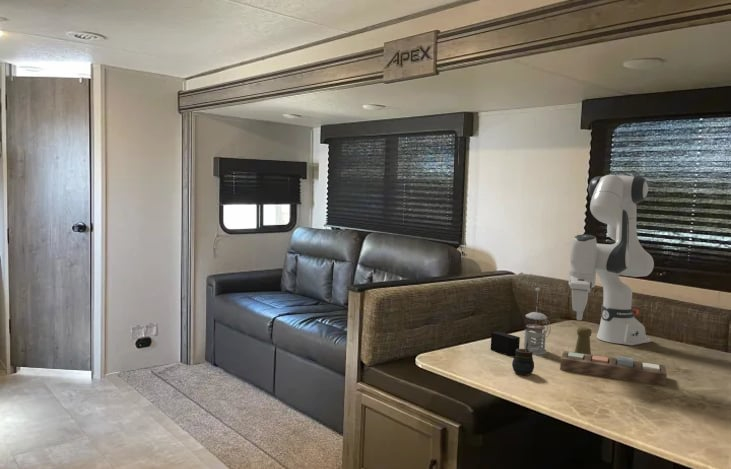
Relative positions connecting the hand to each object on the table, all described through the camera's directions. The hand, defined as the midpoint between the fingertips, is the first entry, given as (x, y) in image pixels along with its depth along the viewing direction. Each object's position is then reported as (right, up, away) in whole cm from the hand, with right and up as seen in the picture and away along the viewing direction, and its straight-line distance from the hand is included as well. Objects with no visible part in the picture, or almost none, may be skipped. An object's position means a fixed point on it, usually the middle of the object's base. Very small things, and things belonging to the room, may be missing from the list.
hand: (579, 319), depth 205 cm
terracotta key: (+6, -16, -3) cm, 17 cm away
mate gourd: (-22, -17, -8) cm, 29 cm away
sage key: (-1, -15, 0) cm, 15 cm away
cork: (+7, -17, +16) cm, 24 cm away
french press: (-10, -16, +20) cm, 27 cm away
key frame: (+9, -18, -5) cm, 21 cm away
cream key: (+20, -17, -10) cm, 28 cm away
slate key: (+13, -15, -7) cm, 21 cm away
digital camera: (-22, -15, +17) cm, 32 cm away
